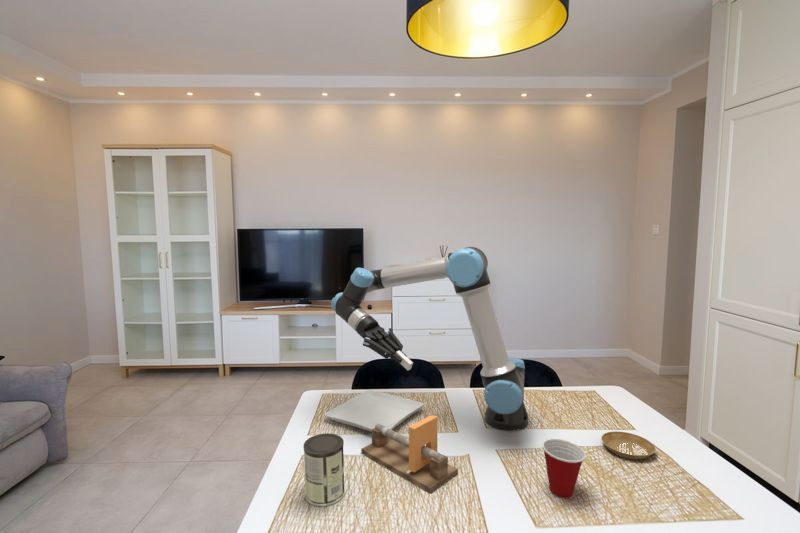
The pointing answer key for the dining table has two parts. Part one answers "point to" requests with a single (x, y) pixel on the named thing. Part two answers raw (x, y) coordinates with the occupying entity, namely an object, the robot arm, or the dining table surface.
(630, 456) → the plant saucer
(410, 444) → the upright orange slab
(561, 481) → the plastic cup
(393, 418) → the square plate
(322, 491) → the coffee can
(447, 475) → the pipe stand
